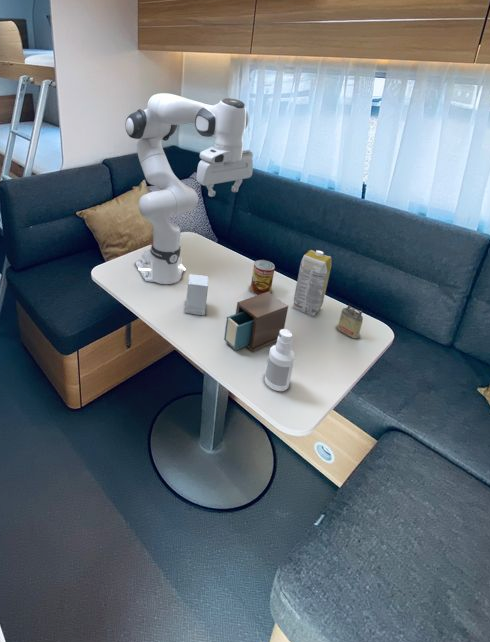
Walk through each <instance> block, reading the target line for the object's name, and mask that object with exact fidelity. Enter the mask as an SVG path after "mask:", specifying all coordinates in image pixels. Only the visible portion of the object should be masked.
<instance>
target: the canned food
mask: <svg viewBox="0 0 490 642" xmlns="http://www.w3.org/2000/svg"><path fill="white" fill-rule="evenodd" d="M275 269H276V267H275V264H274V263H273V262H271V261H269V260H265V259H257V260H255V261H254V262H253V268H252V276H251V283H250V291H251V293H252V294H254V295H255V296H257V295H260V294H263V293H266V292H269V293H271V292H272V286H273V282H274V281H273V280H274V276H275V275H274V273H275ZM271 294H272V293H271Z"/></svg>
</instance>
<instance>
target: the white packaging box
mask: <svg viewBox="0 0 490 642" xmlns="http://www.w3.org/2000/svg"><path fill="white" fill-rule="evenodd" d="M208 291H209V276H208V275H203V274H192V273H189V274H188V279H187V290H186V301H185V310H184V312H185V314H191V315H197V316H206V308H207V300H208Z"/></svg>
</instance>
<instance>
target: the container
mask: <svg viewBox="0 0 490 642" xmlns="http://www.w3.org/2000/svg"><path fill="white" fill-rule="evenodd" d="M253 322H254V318H253V317H252V316H251V315H249V314H248V313H247V312H246V311H243V312H240V313H237V314H236V313H235V314H232V315H229V316H227V317H226V321H225V330H224V337H223V340H224V341H225V342H226V343H227V344H228V345H229V346H230V347H231V348H232V349H234V350H235V351H236V350H239V349H241V348H244V347H247V346H246V345H249V344H250V341H251V335H252V329H253Z"/></svg>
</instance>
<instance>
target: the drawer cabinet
mask: <svg viewBox="0 0 490 642" xmlns="http://www.w3.org/2000/svg"><path fill="white" fill-rule="evenodd" d="M235 308H236V309H235V314H237V313H240V312H243V311H246V312H247V313H248V314H249V315H251V316H252V317H253V318H254V322H253V329H252V335H251V341H250V344H249V345H246V346H245V347H246V348H248V349H249V350H250V351H251V352H255V351H257V350H259V349H262V348H264V347H266V346H269V345H271V344H274V343H277V339H278V336H279V333H280V330H281V329H285V326H286V322H287V321H286V320H287V315H288V311H289V305H288V304H286V303H285V302H284V301H282V300H281V299H279V298H278V297H277V296H275V295H273V293H269V292H266V293H263V294H260V295H254V296H251V297H249V298H245V299H243V300H239V301H237V302H236V307H235Z"/></svg>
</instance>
